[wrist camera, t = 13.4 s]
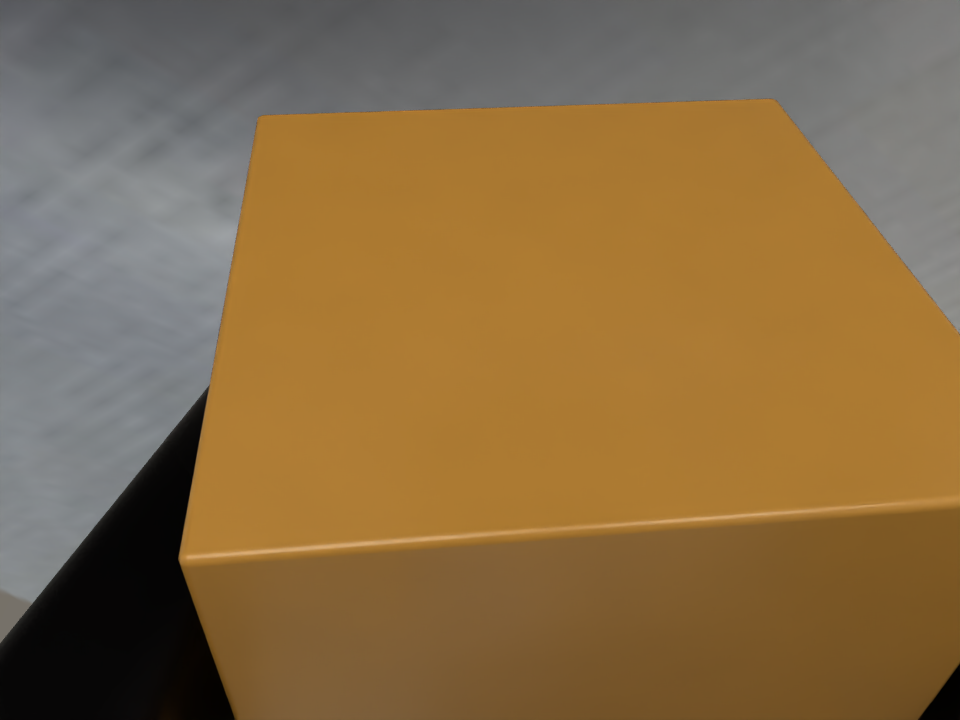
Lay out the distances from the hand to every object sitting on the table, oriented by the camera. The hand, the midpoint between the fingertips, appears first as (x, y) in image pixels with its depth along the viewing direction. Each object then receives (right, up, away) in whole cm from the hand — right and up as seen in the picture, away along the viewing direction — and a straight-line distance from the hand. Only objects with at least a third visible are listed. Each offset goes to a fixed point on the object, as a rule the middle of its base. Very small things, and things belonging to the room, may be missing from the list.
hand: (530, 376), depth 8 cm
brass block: (0, +1, +1) cm, 1 cm away
